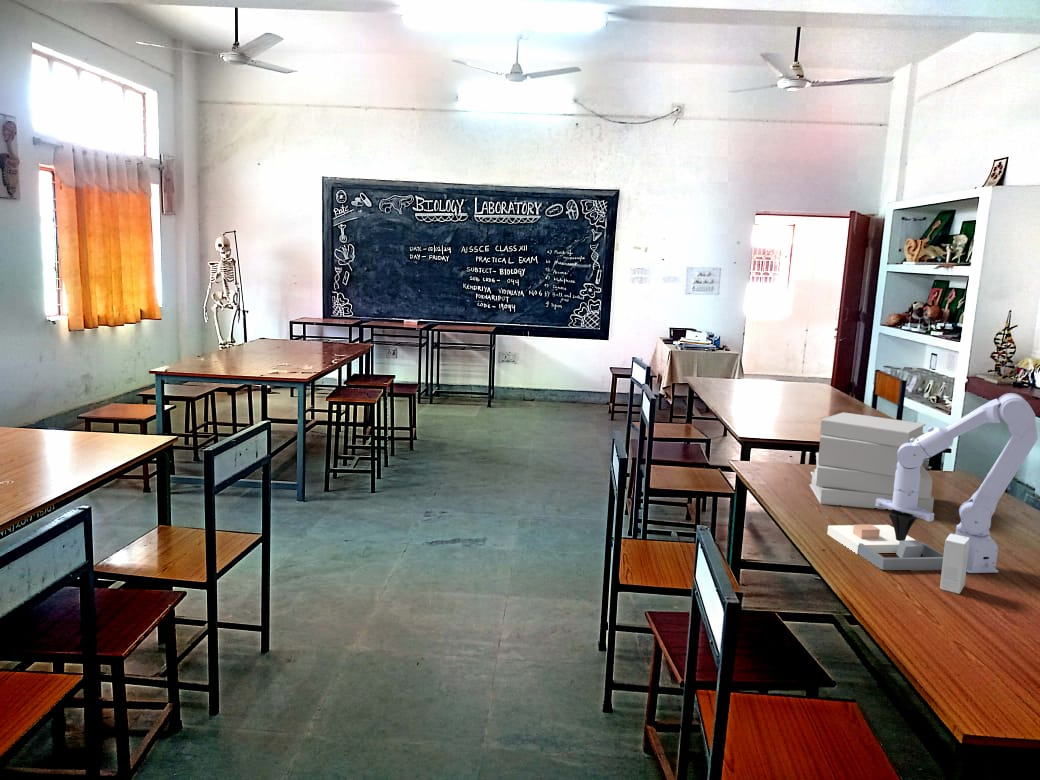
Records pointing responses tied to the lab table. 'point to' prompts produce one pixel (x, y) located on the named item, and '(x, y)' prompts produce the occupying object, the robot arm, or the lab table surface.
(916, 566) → the grey rectangular frame
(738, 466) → the lab table surface
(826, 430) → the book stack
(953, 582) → the skincare box
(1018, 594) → the lab table surface
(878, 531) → the peach block
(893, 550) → the board
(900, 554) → the grey rectangular block
